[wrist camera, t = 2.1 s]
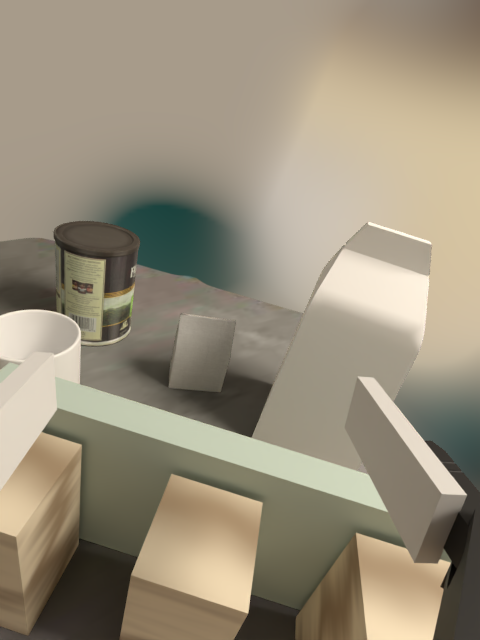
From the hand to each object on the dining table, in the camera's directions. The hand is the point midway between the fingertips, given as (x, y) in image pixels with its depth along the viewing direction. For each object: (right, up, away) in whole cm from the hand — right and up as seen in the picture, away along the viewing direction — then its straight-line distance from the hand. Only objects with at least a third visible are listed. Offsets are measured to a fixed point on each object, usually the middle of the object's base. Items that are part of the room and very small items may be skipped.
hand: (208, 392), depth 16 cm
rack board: (-3, -17, +15) cm, 22 cm away
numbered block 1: (+8, -22, +10) cm, 26 cm away
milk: (+10, -11, +31) cm, 34 cm away
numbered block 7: (-15, -15, +11) cm, 24 cm away
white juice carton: (-5, -5, +33) cm, 34 cm away
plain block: (-3, -19, +10) cm, 22 cm away
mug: (-21, -6, +25) cm, 33 cm away
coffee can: (-20, +2, +38) cm, 43 cm away
